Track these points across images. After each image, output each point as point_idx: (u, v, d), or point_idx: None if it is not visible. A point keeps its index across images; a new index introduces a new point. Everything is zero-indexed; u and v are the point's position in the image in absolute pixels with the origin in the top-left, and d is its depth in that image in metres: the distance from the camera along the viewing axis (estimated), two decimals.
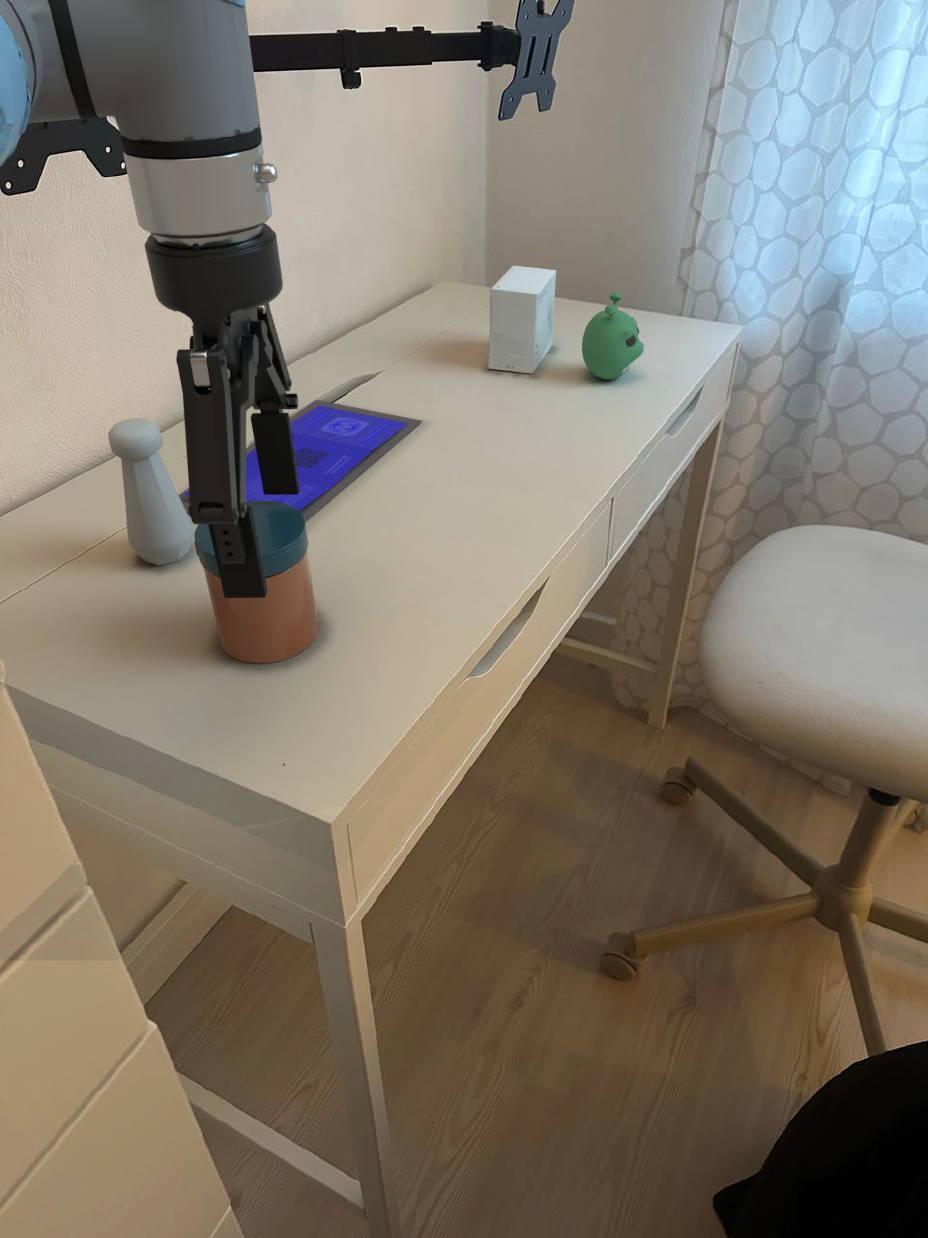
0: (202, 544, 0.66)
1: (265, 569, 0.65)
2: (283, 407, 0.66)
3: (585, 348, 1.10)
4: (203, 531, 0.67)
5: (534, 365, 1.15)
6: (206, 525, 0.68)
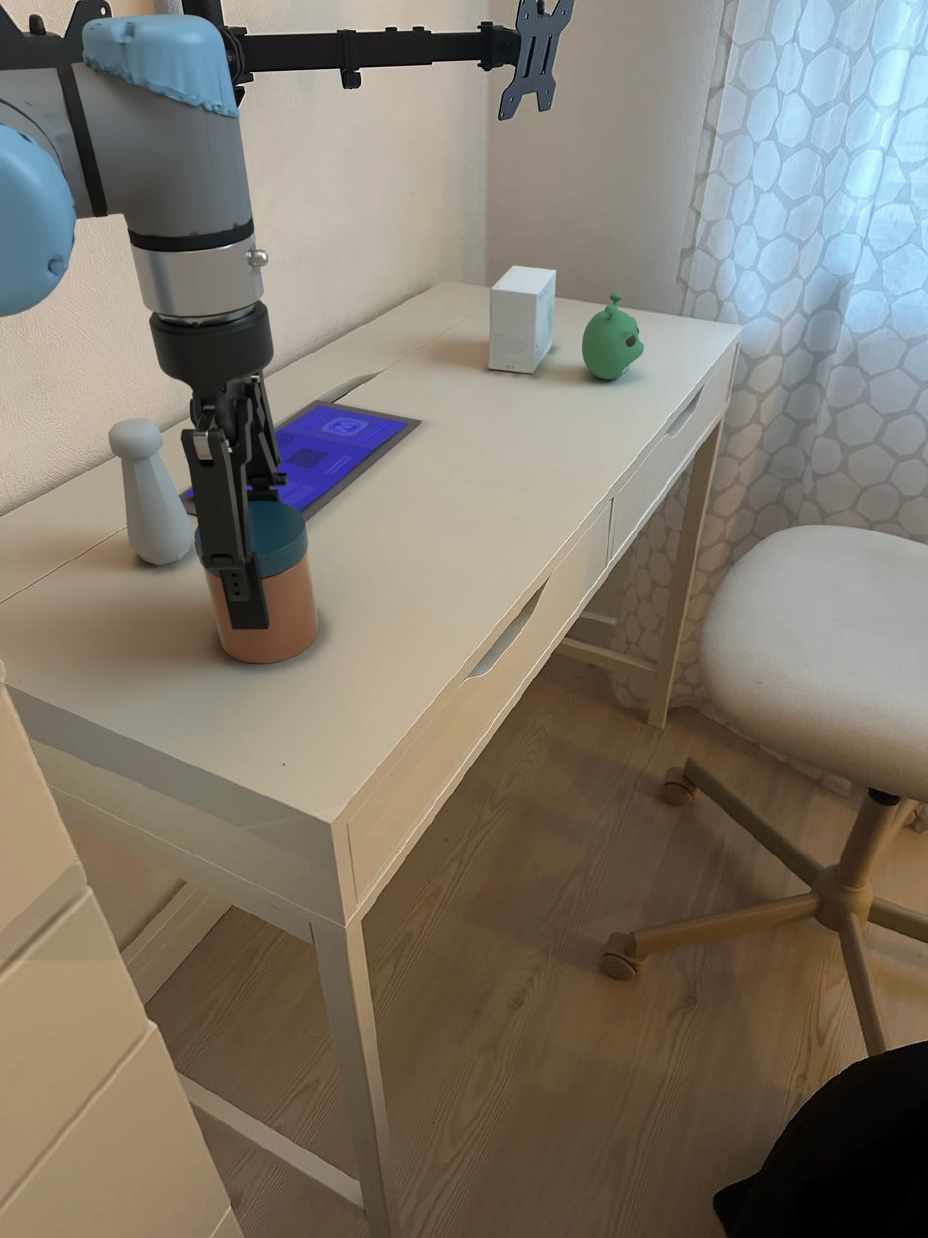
0: None
1: (265, 569, 0.65)
2: (273, 483, 0.71)
3: (585, 348, 1.10)
4: None
5: (534, 365, 1.15)
6: None
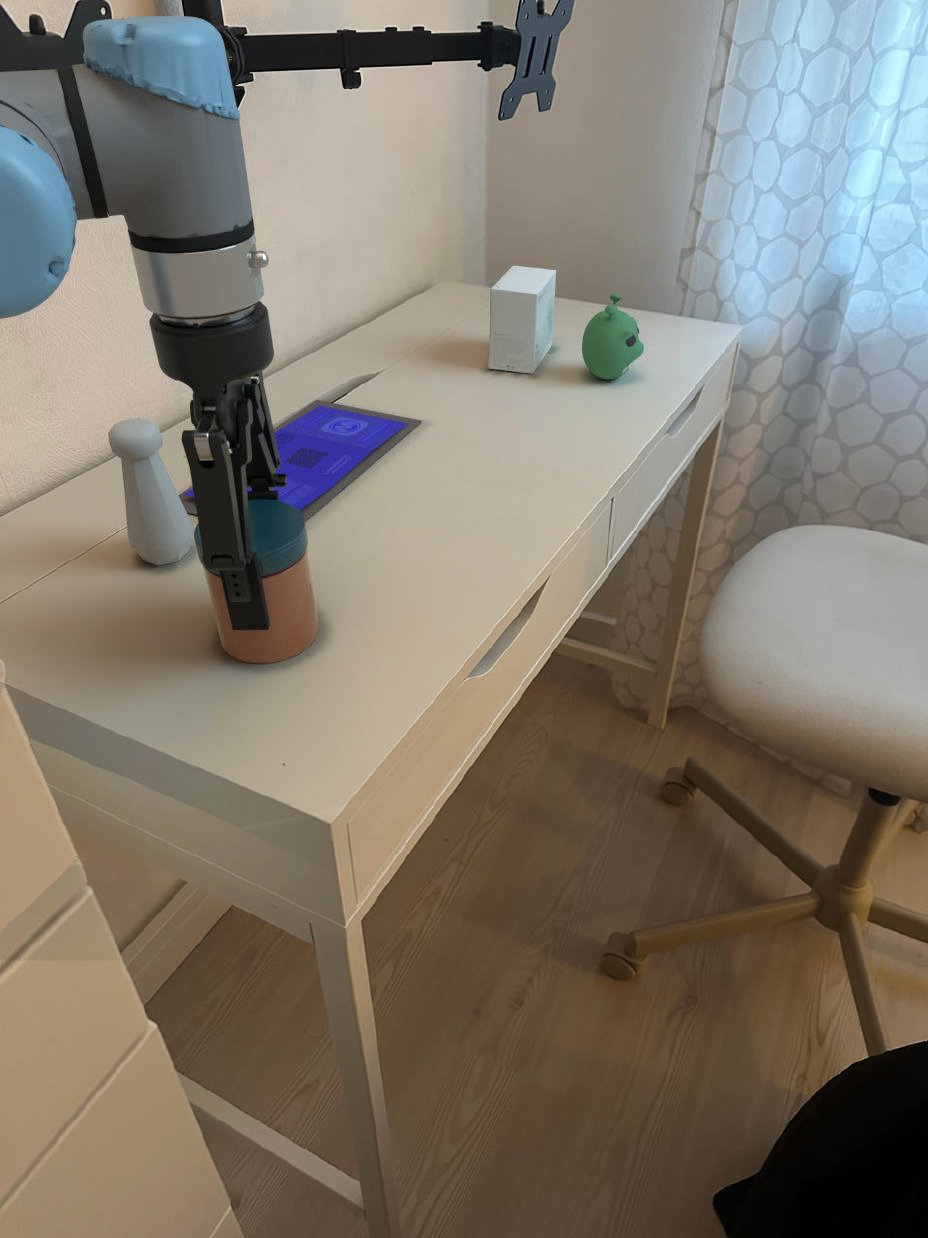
0: (277, 546, 0.65)
1: None
2: (272, 484, 0.71)
3: (585, 348, 1.10)
4: (252, 550, 0.65)
5: (534, 365, 1.15)
6: None
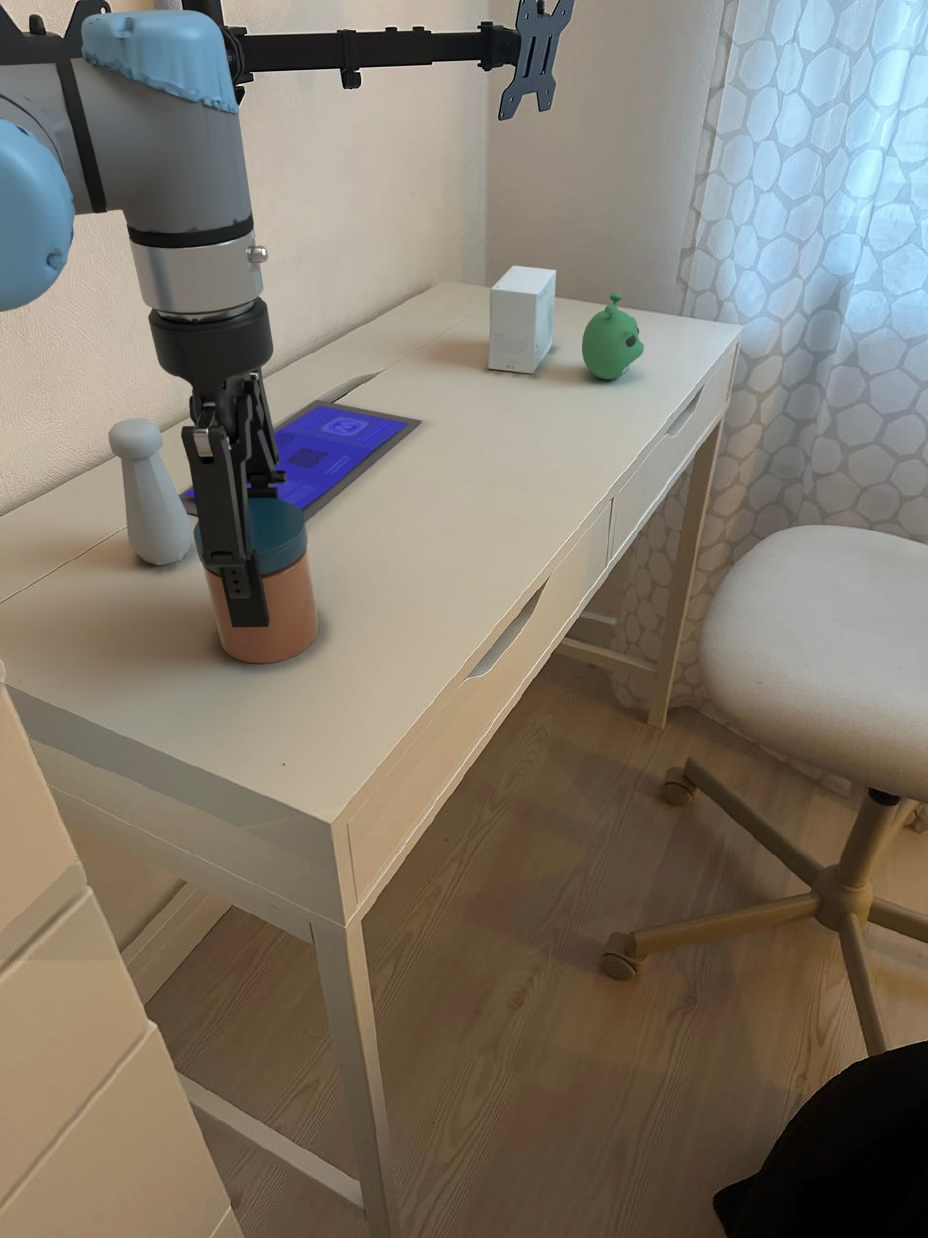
0: (288, 505, 0.70)
1: None
2: (271, 481, 0.71)
3: (585, 348, 1.10)
4: (294, 515, 0.68)
5: (534, 365, 1.15)
6: (295, 521, 0.68)
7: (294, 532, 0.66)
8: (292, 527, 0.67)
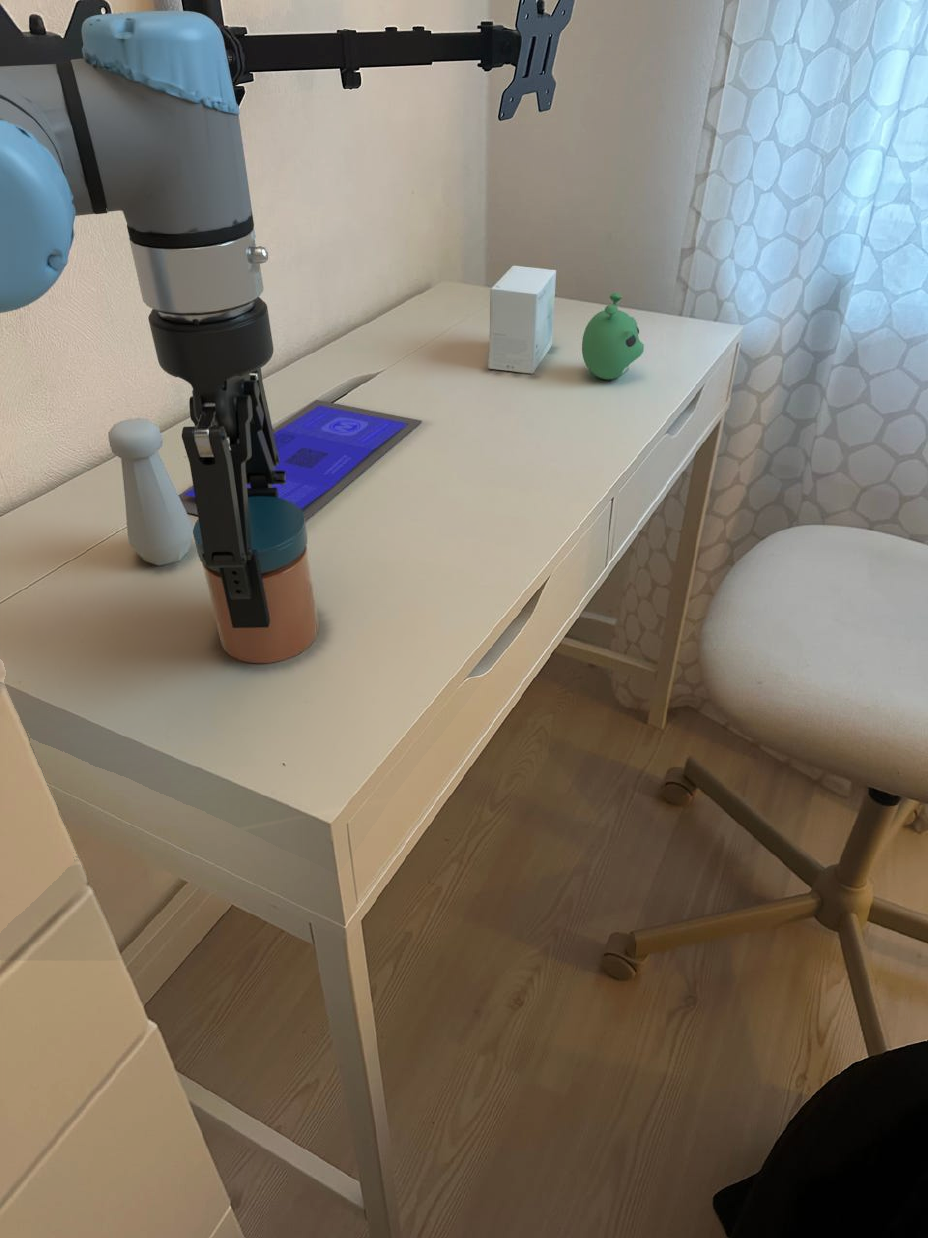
0: None
1: None
2: (271, 481, 0.71)
3: (585, 348, 1.10)
4: None
5: (534, 365, 1.15)
6: None
7: (267, 498, 0.70)
8: (257, 500, 0.70)
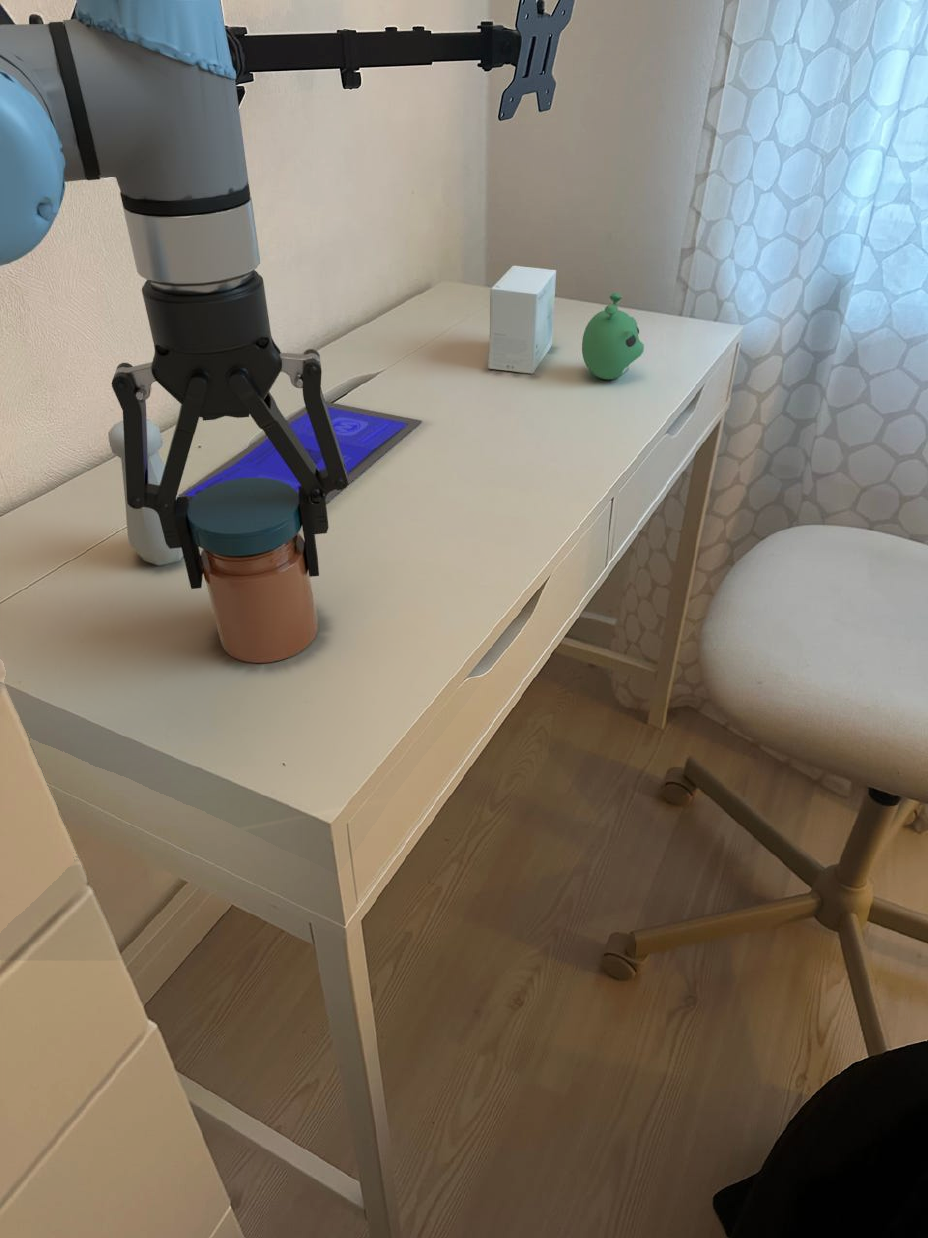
0: (212, 528, 0.63)
1: (285, 535, 0.65)
2: None
3: (585, 348, 1.10)
4: (199, 519, 0.65)
5: (534, 365, 1.15)
6: (196, 513, 0.65)
7: (193, 503, 0.66)
8: (197, 507, 0.66)
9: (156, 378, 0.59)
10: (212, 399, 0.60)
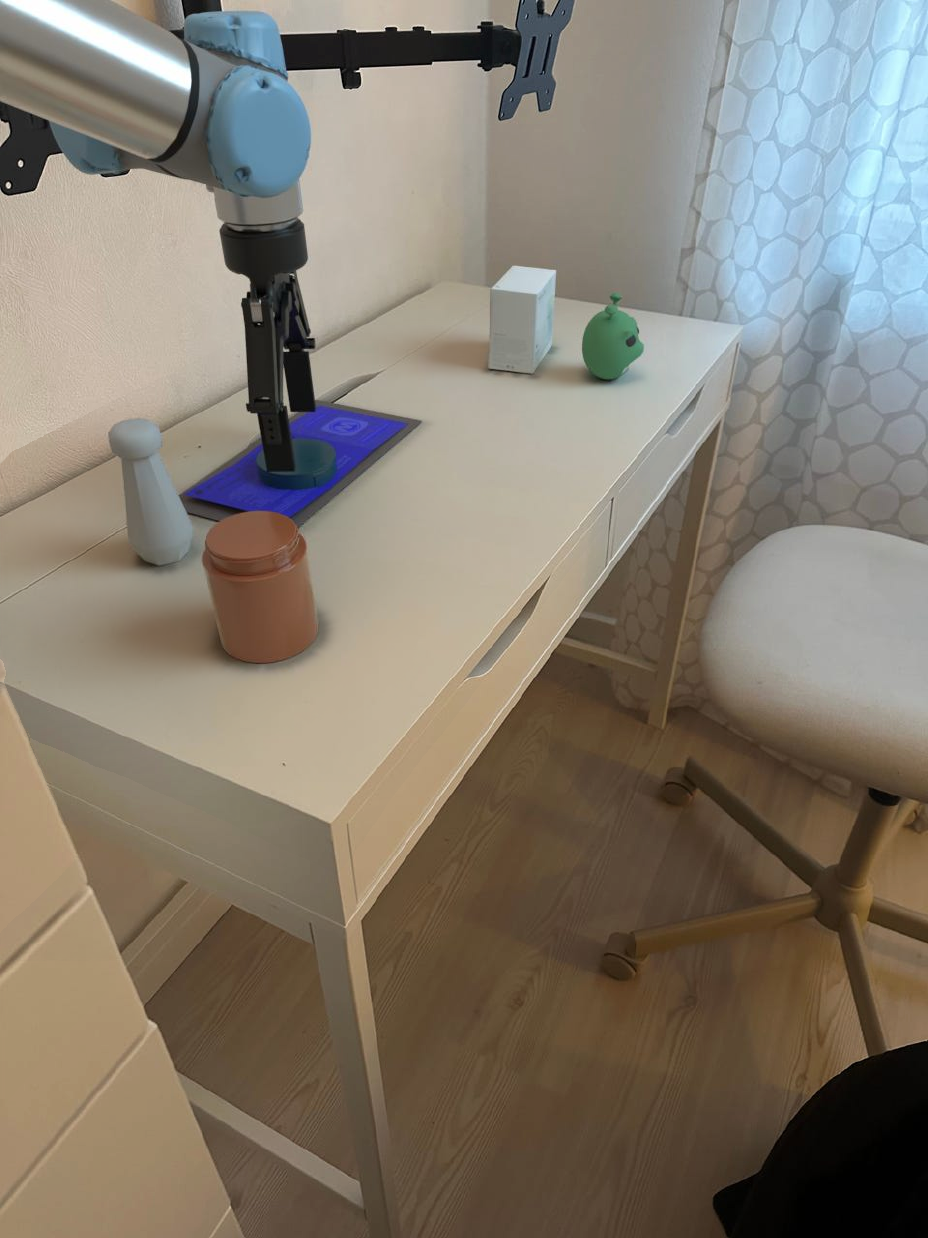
0: (323, 465, 0.92)
1: None
2: None
3: (585, 348, 1.11)
4: (306, 469, 0.91)
5: (534, 365, 1.15)
6: (298, 471, 0.91)
7: (283, 472, 0.91)
8: None
9: (273, 304, 0.80)
10: None
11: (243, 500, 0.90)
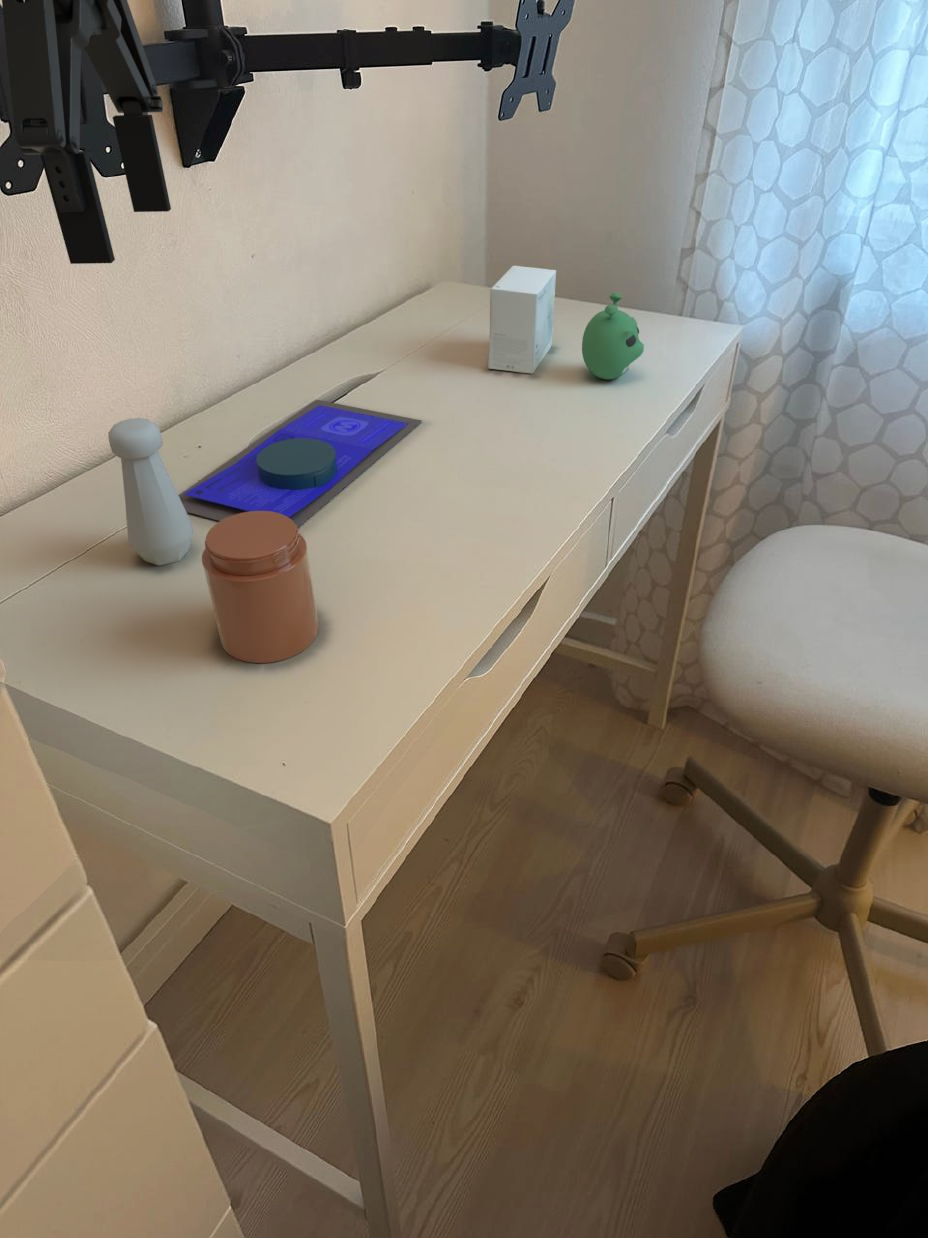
0: (323, 465, 0.92)
1: None
2: None
3: (585, 348, 1.10)
4: (306, 469, 0.91)
5: (534, 365, 1.15)
6: (298, 471, 0.91)
7: (283, 472, 0.91)
8: (290, 471, 0.91)
9: None
10: None
11: (243, 499, 0.90)
